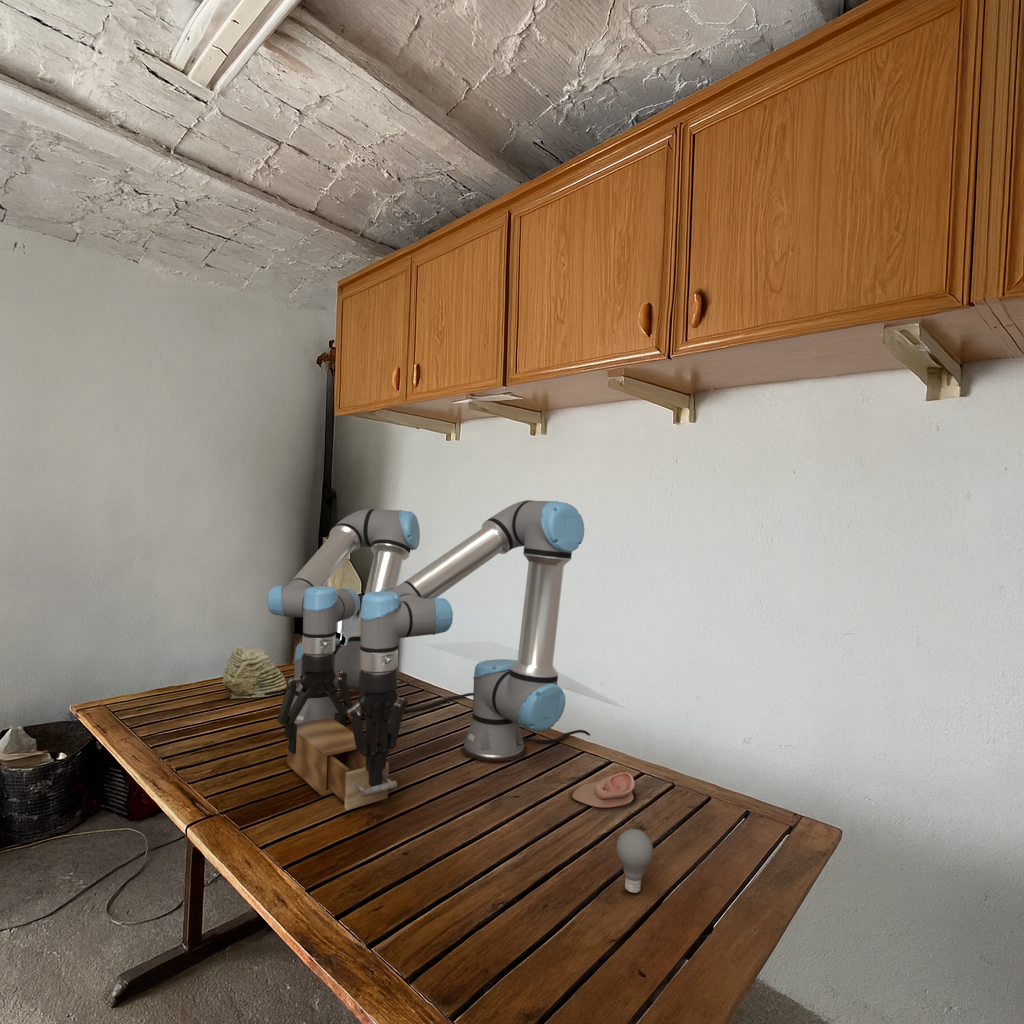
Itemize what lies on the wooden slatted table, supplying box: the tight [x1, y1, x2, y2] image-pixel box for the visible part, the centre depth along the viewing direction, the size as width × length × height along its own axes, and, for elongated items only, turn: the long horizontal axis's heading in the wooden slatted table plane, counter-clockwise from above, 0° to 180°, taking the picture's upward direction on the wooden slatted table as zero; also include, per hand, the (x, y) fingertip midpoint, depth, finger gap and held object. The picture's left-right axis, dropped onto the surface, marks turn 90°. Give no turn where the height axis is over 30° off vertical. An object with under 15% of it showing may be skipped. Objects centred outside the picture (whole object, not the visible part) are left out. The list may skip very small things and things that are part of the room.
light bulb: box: [615, 828, 654, 894], centre depth 106 cm, size 6×6×10 cm
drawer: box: [326, 749, 398, 811], centre depth 134 cm, size 24×9×7 cm, turn 40°
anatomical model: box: [571, 771, 636, 809], centre depth 139 cm, size 13×4×12 cm
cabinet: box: [286, 717, 356, 797], centre depth 145 cm, size 20×10×9 cm, turn 40°
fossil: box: [222, 646, 287, 699], centre depth 198 cm, size 9×18×15 cm, turn 132°
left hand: (315, 746), depth 149 cm, fingers closed on cabinet, 10 cm apart
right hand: (375, 785), depth 127 cm, fingers closed
